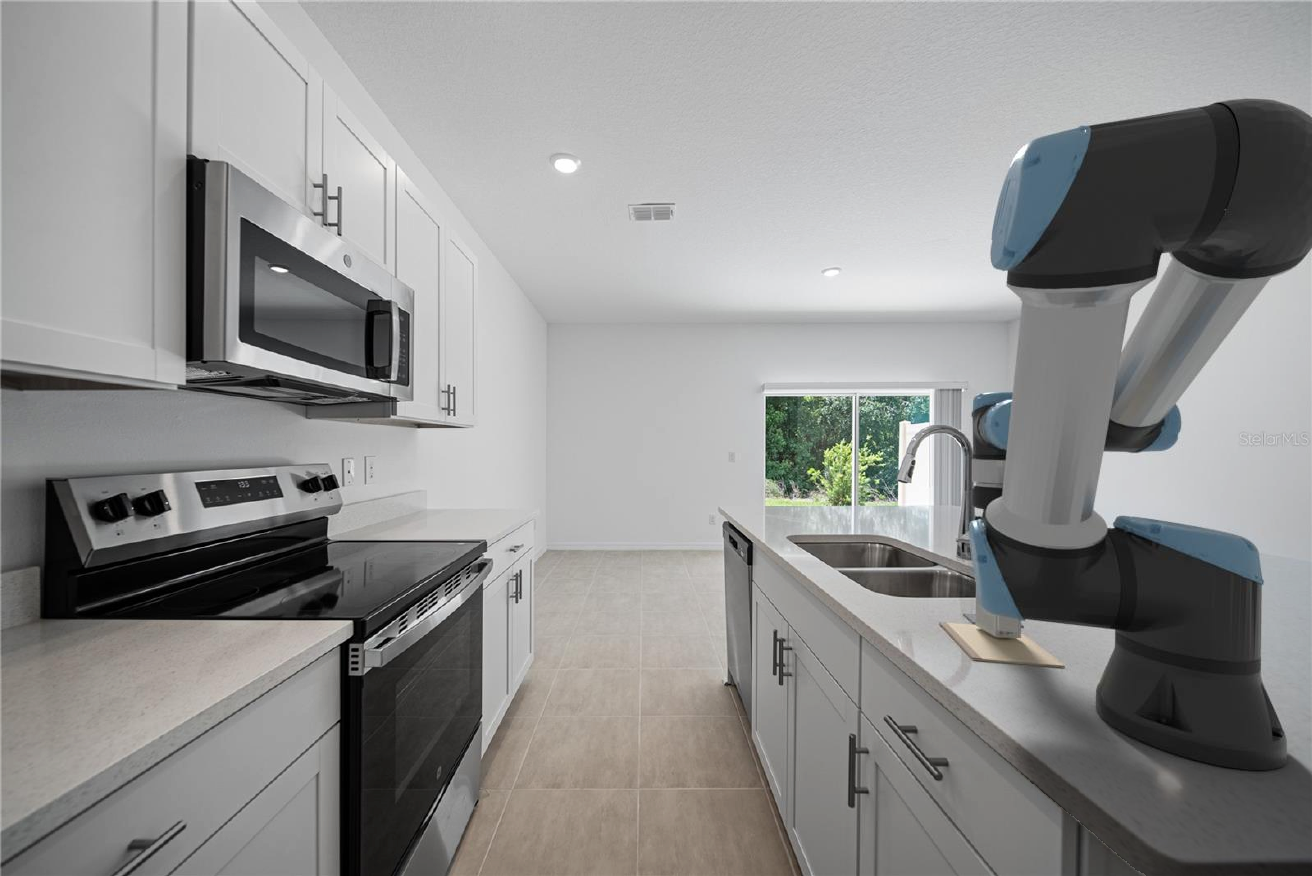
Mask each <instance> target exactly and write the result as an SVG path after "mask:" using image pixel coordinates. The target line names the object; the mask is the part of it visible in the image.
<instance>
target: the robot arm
mask: <svg viewBox="0 0 1312 876" xmlns="http://www.w3.org/2000/svg"><path fill="white" fill-rule="evenodd" d="M1001 187H1002V188H1001V190H1000V193H999V197H998V202H997V206H996V210H995V214H994V219H993V225H992V230H991V231H992V232H991V243H990V244H991V245H990V262H991V266H992V267H993V269H996V270H999V271H1003V272H1005V271H1007V274H1006V282H1005V285H1006V287H1007V288H1008V289H1009V290H1010V291H1011V292H1013V293H1014V294H1015V295H1016V296H1017V297H1018V298H1019V299H1020V301H1021V309H1020V317H1019V328H1018V337H1017V346H1016V347H1017V348H1016V357H1015V366H1014V376H1013V386H1012V391H1001V392H999V391H996V392H993V391H992V392H985V393H978V394H976V395H975V396H974V398H973V400H972V401H973V402H972V411H971V414H970V415H971V418H972V459H971V481H972V483H975V485H973V487H972V488H971V490H972V491H971V495H972V496H971V500H972V501H971V505H972V506H973V508H974V509H975V508H976V509H980V510H982V514H981V515H975V516H974V520H971V521H969V524H968V525H969V526H968V527H969V528H968V535H969V536H968V537H969V538H968V539H969V547H970V556H971V562H972V569H973V574H974V575H973V576H974V581H975V588H976V587H977V592H978V596H979V600H980V602H981V604H982V606H983V607H984V609H985V610H987V611H988V612H990V613H992V614H995V615H997V630H998V631H1004V632H1018V619H1019V620H1021V622H1023V621H1026V620H1027V621H1028V620H1029V621H1037V622H1038V621H1039V622H1045V623H1055V624H1064V625H1071V626H1081V627H1089V628H1098V629H1099V628H1100V629H1106V630H1107V629H1108V630H1114V648H1113V651H1112V653H1111V655H1110V658H1109V660H1108V662H1107V664H1106V666H1105V668H1104V670H1103V673H1102V674H1101V675H1102V676H1101V677H1100V678H1099V679H1100V680H1099V682H1098V684H1097V686H1096V689H1095V710H1096V712H1097V713H1098V715H1099V717H1101V718H1102V719H1103V720H1104V721H1105V722H1106V723H1108V724H1109V725H1110V726H1112V727H1114V728H1115V729H1117V730H1119V731H1120V732H1122V733H1124V734H1125V735H1127V736H1130V737H1131V738H1133V739H1136V740H1138V741H1140V742H1142V743H1145V744H1147V745H1149V746H1152V747H1155V748H1157V749H1160V750H1163V751H1165V752H1168V753H1171V754H1174V755H1177V756H1181V757H1184V758H1187V759H1191V760H1195V761H1199V762H1203V763H1206V764H1211V765H1216V766H1221V767H1228V768H1233V769H1240V770H1251V771H1253V770H1254V771H1262V770H1263V771H1265V770H1266V771H1267V770H1274V769H1278V768H1281V767H1283V766H1285V765H1286V763H1287V761H1288V741H1287V740H1288V739H1287V735H1286V733H1285V731H1284V729H1283V727H1282V724H1281V721H1280V719H1279V717H1278V714H1277V712H1276V710H1275V708H1274V705H1273V703H1272V700H1271V699H1270V696H1269V694H1268V692H1267V691H1268V690H1267V688H1266V687H1265V685H1264V682H1263V679H1262V678H1263V677H1262V606H1263V605H1262V601H1263V600H1262V598H1263V597H1262V595H1263V594H1262V591H1263V590H1262V589H1263V587H1262V585H1263V586H1264V584H1265V581H1264V579H1263V575H1262V574H1263V573H1262V567H1261V566H1262V565H1261V560H1260V559H1261V558H1260V552H1259V549H1258V548H1257V546H1256V545H1255V543H1253V542H1252V541H1251V540H1250V539H1248V538H1246V537H1243V536H1240V535H1239V534H1235V533H1230V532H1225V531H1222V530H1216V529H1213V528H1212V529H1211V528H1208V527H1201V526H1197V525H1190V524H1184V523H1180V522H1172V521H1166V520H1163V519H1161V520H1160V519H1153V518H1147V517H1139V516H1130V515H1129V516H1128V515H1118V516H1116V518H1115V520H1114V521H1113V523H1112V526H1113V528H1112V527H1108V524H1107V523H1106V521H1105V519H1104V518H1103V517H1102V516H1101V515H1100V514H1099V513H1098V512H1096V511H1095V510H1094V507H1095V503H1096V502H1095V500H1096V495H1097V490H1098V486H1099V485H1098V484H1099V480H1100V479H1099V478H1100V474H1101V468H1102V462H1103V456H1104V453H1105V452H1109V453H1112V452H1113V453H1114V452H1115V453H1130V454H1140V453H1143V452H1144V453H1145V452H1147V453H1149V452H1162V451H1163V452H1164V451H1167V450H1168V449H1171V448H1173V446H1174V445H1175V444H1176V443H1177V442H1178V439H1179V434H1180V432H1181V430H1182V416H1181V415H1182V414H1181V411H1180V408H1179V407H1178V405H1177V403H1178V402H1179V400H1180V399H1181V397H1182V396H1183V395H1184V393H1185V391H1187V390H1188V388H1189V386H1191V384H1192V382H1193V381H1194V380H1195V379H1196V378H1197V376H1198V375H1199V374H1200V372H1201V371H1202V370H1203V368H1204V367H1205V366H1206V364H1207V363H1208V362H1209V361H1210V359H1211V358H1212V356H1213V355H1214V354H1215V352H1216V351H1217V350H1218V349H1219V347H1220V346H1221V345H1222V343H1223V342H1224V341H1225V339H1226V338H1227V337H1228V335H1229V334H1230V333H1231V332H1232V330H1233V329H1234V328H1235V326H1236V325H1237V324H1238V322H1239V321H1240V320H1241V319H1242V318H1243V316H1244V314H1245V313H1246V312H1247V310H1248V309H1249V308H1250V307H1251V306H1252V304H1253V302H1255V300H1256V298H1257V297H1259V294H1260V293H1261V292H1262V291H1263V289H1264V288H1265V286H1267V284H1268V283H1269V282H1270V281H1271V279H1272V278H1274V277H1278V276H1280V275H1284V274H1285V273H1288V272H1290V271H1291V270H1293V269H1294V268H1296V267H1297V266H1298V265H1299V264H1301V262H1302V261H1303V260H1304V259H1305V258H1306V257H1307V255H1308V254H1309V252H1311V250H1312V116H1311V115H1309V114H1308V113H1307V112H1305V111H1304V110H1302V109H1300V108H1298V107H1296V106H1293V105H1291V104H1289V103H1284V102H1281V101H1277V100H1274V99H1265V98H1263V99H1262V98H1239V99H1229V100H1223V101H1216V102H1214V103H1212V104H1209V105H1204V106H1198V107H1197V106H1196V107H1190V108H1186V109H1180V110H1179V109H1178V110H1174V111H1173V110H1172V111H1168V112H1162V113H1158V114H1151V115H1146V116H1140V117H1134V118H1127V119H1121V120H1115V121H1110V122H1103V123H1097V124H1092V125H1079V126H1078V127H1075V128H1071V129H1067V130H1063V131H1060V132H1056V133H1051V134H1047V135H1044V136H1040V137H1036V138H1034V139H1032V140H1031V141H1028V143H1026V144H1025V145H1024V146H1023V147H1022V148H1021V149H1020V150H1019V151H1018V152H1017V153H1016V155H1015V156H1014V158H1013V159H1012V161H1011V164H1010V166H1009V168H1008V170H1007V173H1006V175H1005V178H1004V181H1003V184H1002V186H1001ZM1167 253H1168V254H1169V256H1170V257H1171V258H1170V259H1171V260H1170V261H1169V263H1168V265H1167V267H1166V268H1165V271H1164V272H1163V275H1162V276H1161V277H1160V278H1161V279H1160V280H1159V281H1158V284H1157V286H1156V287H1155V289H1154V291H1153V293H1152V294H1151V296H1150V298H1149V300H1148V302H1147V304H1146V306H1145V308H1144V310H1143V311H1142V313H1141V315H1140V317H1139V319H1138V321H1137V322H1136V325H1135V326H1134V328H1133V330H1132V332H1131V334H1130V336H1129V338H1128V339H1127V341H1126V343H1125V345H1124V346H1123V344H1124V339H1125V331H1126V329H1127V327H1126V326H1127V323H1128V321H1127V320H1128V317H1129V310H1130V306H1131V300H1132V297H1133V296H1134V295H1135V294H1136V293H1137V292H1139V291H1140V290H1142V289H1143V288H1145V287H1146V286H1148V285H1149V284H1150V283H1152V282H1153V281H1155V280H1156V278H1157V277H1158V271H1159V267H1160V261H1161V257H1162V255H1163V254H1167Z"/></svg>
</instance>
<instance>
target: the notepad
mask: <svg viewBox="0 0 1312 876" xmlns="http://www.w3.org/2000/svg"><path fill="white" fill-rule="evenodd" d="M938 624H939V626H940V625H941V626H942V627H941V626H940V627H941V628H942V629H943V630H944V629H945V630H944V631H945V632H946V633H947V634H948V635H949V636H950V638H952V640H953V639H954V642H955V643H956V644H957V645H958V646H959V647H960V648H961V649H962V650H963V652H964V653H965V654H966V655H967V656H968V657H969V658H970V659H971V660H972V661H980V662H981V661H983V662H990V663H1005V664H1015V665H1016V664H1017V665H1028V666H1038V667H1039V666H1040V667H1041V666H1043V667H1051V668H1066V665H1065V664H1064V663H1062V662H1060V661H1059V660H1058V659H1057V658H1055V657H1054V656H1053V655H1051V654H1050V653H1048V652H1047V651H1046V650H1045V649H1043V648H1042V647H1041V646H1039V645H1038V644H1037V643H1035V642H1034V641H1033V640H1032V639H1030V638H1029V637H1028V636H1026V635H1025V634H1024V633H1022V632H1021V638H997V637H995V636H993V635H991V634H989V633H988V632H986V631H984V630H983V629H981V628H979V627H978V626H976V625H975V624H967V623H955V622H946V621H939V622H938Z"/></svg>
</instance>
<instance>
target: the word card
mask: <svg viewBox="0 0 1312 876" xmlns="http://www.w3.org/2000/svg"><path fill="white" fill-rule="evenodd" d="M962 616H963V617H965V618H966V619H967V620H968V621H969V622H970V623H971V624H972V625H975V613H964V612H963V613H962ZM1021 628H1024V625H1023V624H1022V623H1021Z"/></svg>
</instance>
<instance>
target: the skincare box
mask: <svg viewBox="0 0 1312 876" xmlns="http://www.w3.org/2000/svg"><path fill="white" fill-rule="evenodd" d="M974 614H975V624H974V625H976V626H978V627H979V628H981V629H983V630H984V631H986V632H988V633H989V634H991V635H993V636H995V637H997V638H1021V633H1022V627H1021V624H1022V621H1021V620H1019V619H1018V632H1004V631H998V630H997V615H995V614H992V613H990V612H988V611H987V610H985V609H984V607H983V606H982V604H981V602H980V600H979V596H978V592H977V587H976V586H975V613H974Z"/></svg>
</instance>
